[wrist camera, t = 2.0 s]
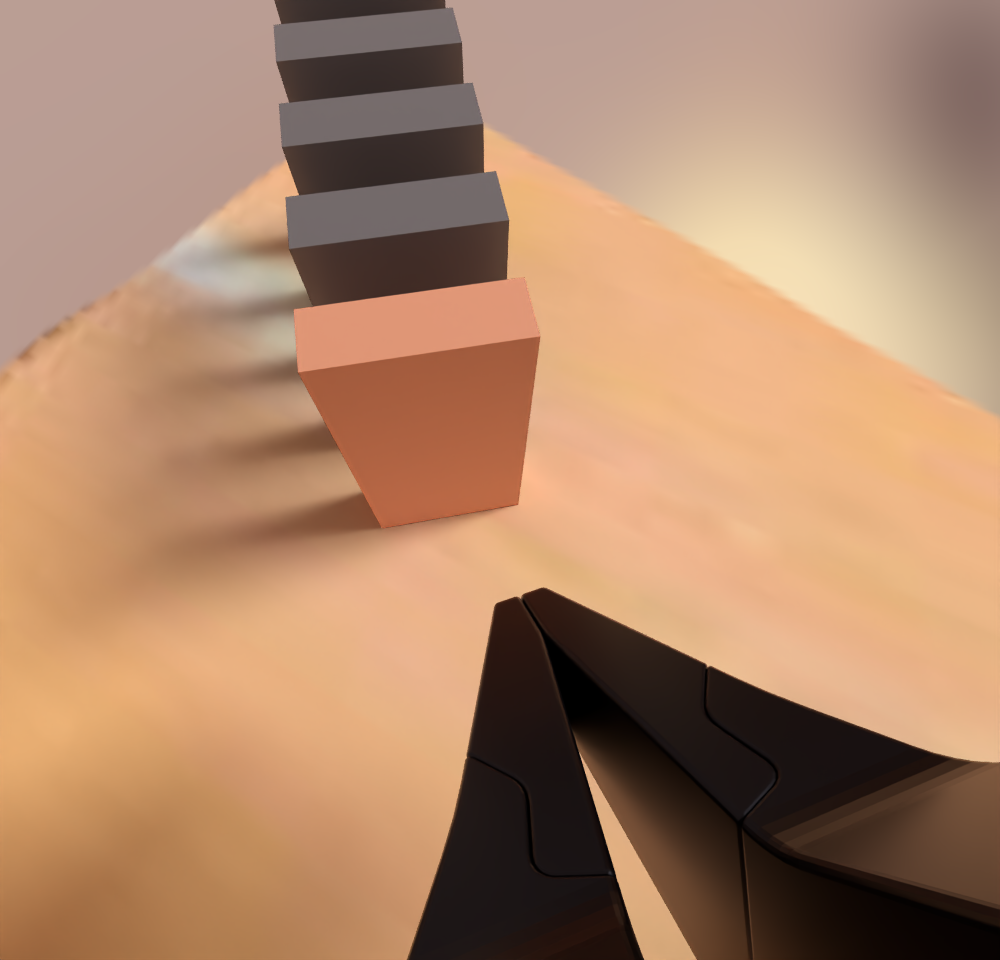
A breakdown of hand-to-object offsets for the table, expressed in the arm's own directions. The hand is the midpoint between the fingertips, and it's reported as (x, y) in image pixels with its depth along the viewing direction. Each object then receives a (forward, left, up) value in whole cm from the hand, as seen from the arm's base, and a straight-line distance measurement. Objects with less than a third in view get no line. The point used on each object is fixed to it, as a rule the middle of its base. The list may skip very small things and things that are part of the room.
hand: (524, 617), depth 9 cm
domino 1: (+7, 0, -11) cm, 12 cm away
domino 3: (+13, -1, -11) cm, 17 cm away
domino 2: (+10, 0, -11) cm, 15 cm away
